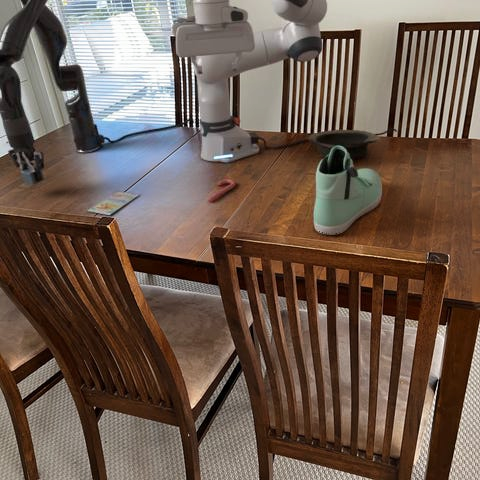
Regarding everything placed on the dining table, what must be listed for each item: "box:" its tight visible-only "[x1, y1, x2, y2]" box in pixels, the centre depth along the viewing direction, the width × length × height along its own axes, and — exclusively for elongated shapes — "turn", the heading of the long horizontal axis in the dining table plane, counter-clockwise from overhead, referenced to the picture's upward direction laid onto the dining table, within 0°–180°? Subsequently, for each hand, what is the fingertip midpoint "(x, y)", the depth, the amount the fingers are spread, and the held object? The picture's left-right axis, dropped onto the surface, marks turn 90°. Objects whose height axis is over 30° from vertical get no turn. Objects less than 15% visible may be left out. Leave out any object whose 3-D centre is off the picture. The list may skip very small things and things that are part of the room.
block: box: [20, 166, 45, 186], centre depth 159 cm, size 4×5×4 cm
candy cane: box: [207, 178, 236, 203], centre depth 154 cm, size 6×15×2 cm, turn 145°
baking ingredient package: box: [87, 191, 139, 216], centre depth 152 cm, size 9×1×15 cm
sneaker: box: [313, 146, 383, 236], centre depth 133 cm, size 14×35×20 cm, turn 152°
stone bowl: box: [307, 129, 380, 162], centre depth 171 cm, size 25×25×9 cm
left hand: (34, 179), depth 160 cm, fingers closed on block, 4 cm apart
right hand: (217, 72), depth 126 cm, fingers open, 8 cm apart
